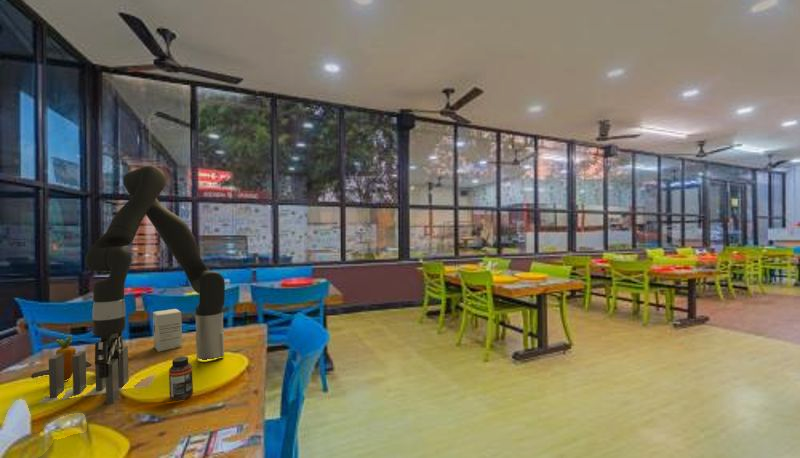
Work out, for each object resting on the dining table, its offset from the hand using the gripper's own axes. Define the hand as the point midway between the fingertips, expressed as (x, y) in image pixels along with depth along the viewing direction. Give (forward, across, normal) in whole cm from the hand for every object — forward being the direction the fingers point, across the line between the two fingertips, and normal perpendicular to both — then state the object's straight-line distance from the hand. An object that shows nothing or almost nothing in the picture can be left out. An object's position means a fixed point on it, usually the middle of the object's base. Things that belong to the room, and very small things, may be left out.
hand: (109, 372), depth 108 cm
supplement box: (+8, +52, -5) cm, 53 cm away
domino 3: (+8, 0, -1) cm, 9 cm away
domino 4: (+8, +12, 0) cm, 14 cm away
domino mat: (+8, +12, +6) cm, 16 cm away
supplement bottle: (+8, -5, -19) cm, 21 cm away
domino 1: (+8, +12, +11) cm, 18 cm away
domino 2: (+8, +12, +6) cm, 15 cm away
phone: (+9, +38, +25) cm, 46 cm away
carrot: (+9, +24, +19) cm, 31 cm away
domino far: (+8, +12, +16) cm, 22 cm away
